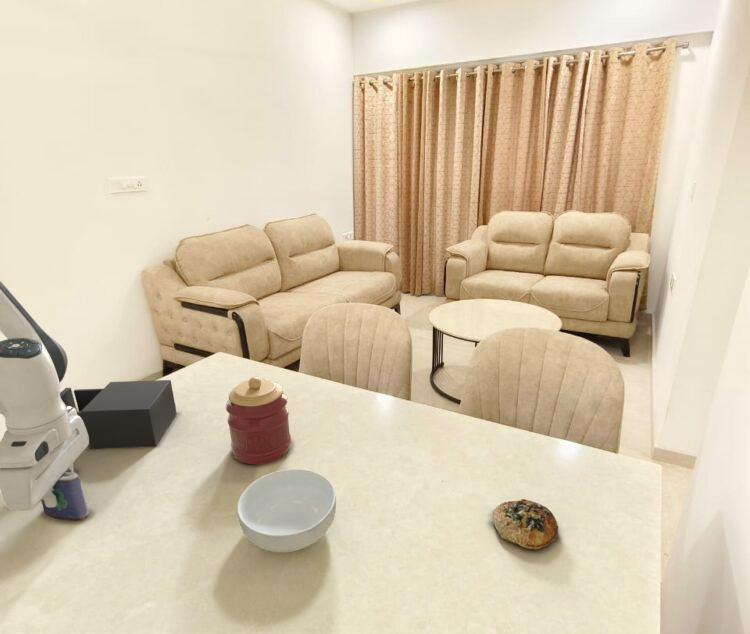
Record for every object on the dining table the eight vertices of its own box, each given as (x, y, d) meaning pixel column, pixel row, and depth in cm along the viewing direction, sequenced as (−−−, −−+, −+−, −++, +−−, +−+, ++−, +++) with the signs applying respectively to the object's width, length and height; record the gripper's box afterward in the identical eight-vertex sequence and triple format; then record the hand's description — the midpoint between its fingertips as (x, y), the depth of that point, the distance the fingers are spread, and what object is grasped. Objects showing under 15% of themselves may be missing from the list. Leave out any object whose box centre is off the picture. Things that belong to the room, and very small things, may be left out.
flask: (92, 513, 93) (79, 464, 89) (80, 523, 90) (66, 474, 86) (52, 505, 95) (37, 457, 91) (39, 515, 92) (23, 467, 88)
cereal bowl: (237, 510, 93) (232, 479, 90) (324, 491, 98) (322, 460, 95) (246, 581, 78) (241, 545, 75) (349, 553, 83) (347, 519, 80)
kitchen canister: (275, 427, 120) (268, 360, 114) (302, 451, 110) (296, 379, 104) (222, 446, 113) (212, 375, 106) (247, 474, 103) (237, 398, 97)
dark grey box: (90, 448, 112) (80, 411, 109) (118, 416, 126) (110, 381, 122) (156, 446, 113) (148, 409, 110) (176, 413, 127) (170, 379, 123)
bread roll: (557, 511, 91) (559, 491, 89) (557, 563, 82) (559, 542, 79) (494, 501, 94) (495, 482, 92) (488, 550, 85) (488, 529, 83)
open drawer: (19, 446, 112) (10, 416, 109) (52, 416, 124) (44, 388, 122) (104, 443, 113) (96, 413, 110) (128, 413, 125) (122, 385, 122)
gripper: (55, 402, 95) (72, 462, 100) (-18, 466, 76) (7, 537, 81) (89, 400, 96) (104, 461, 101) (24, 464, 77) (47, 535, 82)
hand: (60, 496), depth 91 cm, fingers closed on flask, 3 cm apart
